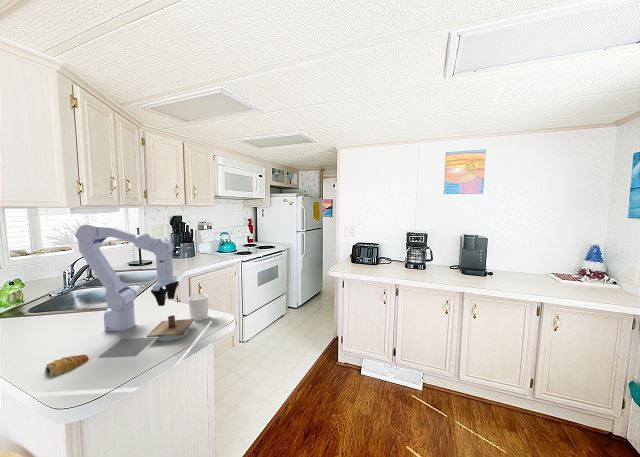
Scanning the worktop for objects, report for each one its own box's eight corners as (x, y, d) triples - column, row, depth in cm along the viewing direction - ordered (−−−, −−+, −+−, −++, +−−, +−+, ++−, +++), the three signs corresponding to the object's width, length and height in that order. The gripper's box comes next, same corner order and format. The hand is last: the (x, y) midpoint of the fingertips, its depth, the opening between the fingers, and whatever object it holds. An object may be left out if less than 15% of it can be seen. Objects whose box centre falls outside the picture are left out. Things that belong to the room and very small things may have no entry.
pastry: (84, 358, 84) (83, 347, 84) (92, 364, 81) (91, 352, 81) (43, 374, 76) (42, 362, 76) (51, 382, 73) (50, 369, 72)
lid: (146, 337, 91) (146, 325, 90) (162, 322, 103) (161, 311, 102) (183, 334, 93) (182, 322, 92) (193, 320, 104) (193, 309, 104)
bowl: (151, 343, 93) (151, 335, 92) (166, 330, 102) (166, 322, 102) (180, 342, 93) (180, 334, 93) (192, 329, 103) (191, 321, 103)
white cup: (201, 323, 108) (200, 300, 108) (185, 322, 110) (184, 299, 109) (212, 316, 116) (212, 294, 115) (197, 314, 118) (196, 293, 117)
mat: (97, 360, 83) (96, 357, 83) (122, 340, 95) (122, 338, 95) (135, 358, 84) (135, 356, 84) (156, 339, 96) (156, 337, 95)
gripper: (165, 274, 98) (167, 308, 100) (182, 265, 113) (184, 295, 114) (146, 274, 98) (148, 309, 99) (166, 266, 112) (167, 296, 113)
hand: (166, 302), depth 106 cm, fingers open, 7 cm apart
